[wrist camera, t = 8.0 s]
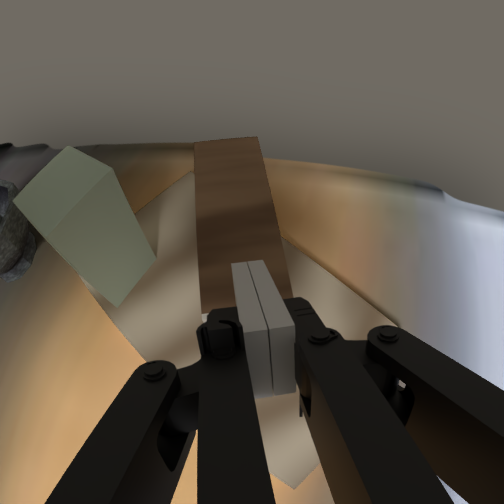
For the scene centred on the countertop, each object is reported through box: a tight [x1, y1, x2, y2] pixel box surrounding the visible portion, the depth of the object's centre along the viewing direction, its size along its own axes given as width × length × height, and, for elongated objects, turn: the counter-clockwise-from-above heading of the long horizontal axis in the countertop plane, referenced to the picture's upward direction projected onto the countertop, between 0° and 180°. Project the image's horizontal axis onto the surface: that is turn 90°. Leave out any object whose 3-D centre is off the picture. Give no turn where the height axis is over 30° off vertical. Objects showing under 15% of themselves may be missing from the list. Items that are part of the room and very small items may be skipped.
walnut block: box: [194, 137, 294, 323], centre depth 21 cm, size 5×5×14 cm
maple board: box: [77, 171, 398, 489], centre depth 21 cm, size 24×14×2 cm, turn 48°
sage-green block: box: [13, 145, 157, 308], centre depth 18 cm, size 5×5×10 cm
